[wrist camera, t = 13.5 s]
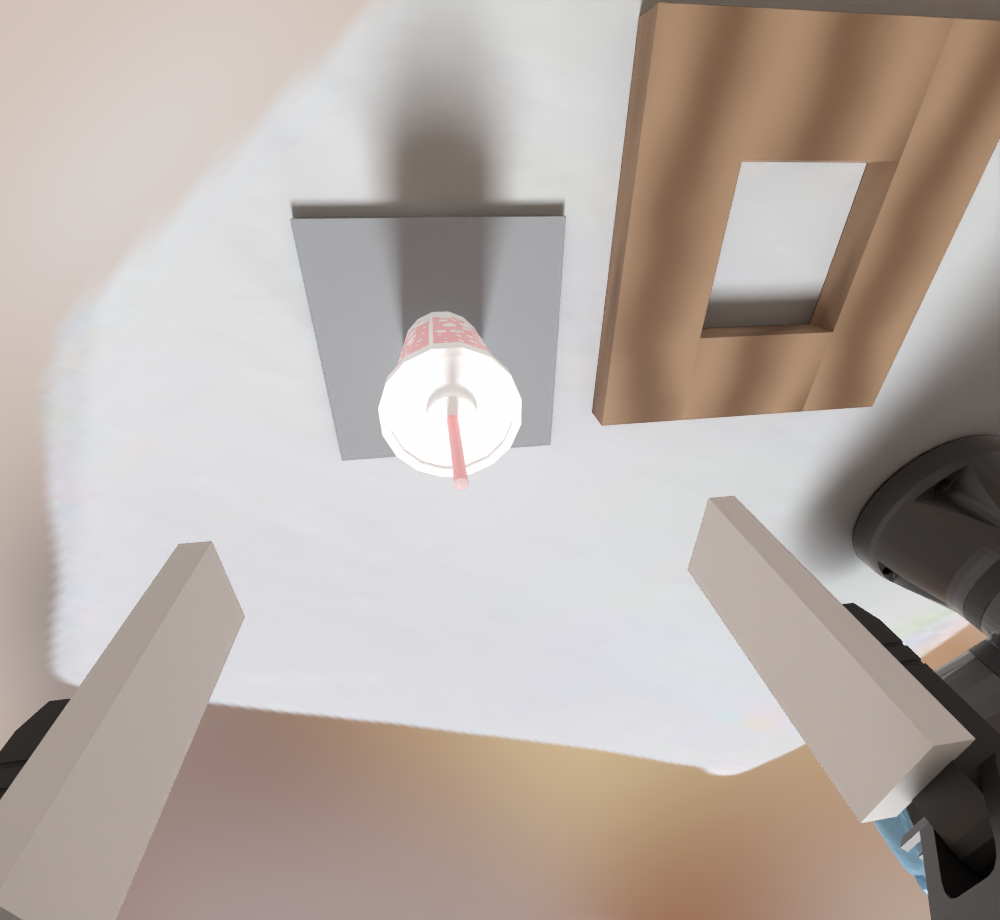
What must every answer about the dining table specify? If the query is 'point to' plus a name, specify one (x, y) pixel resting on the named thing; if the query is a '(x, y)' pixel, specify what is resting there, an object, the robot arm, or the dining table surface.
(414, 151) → the dining table surface
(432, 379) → the beverage cup
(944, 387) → the dining table surface
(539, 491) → the dining table surface
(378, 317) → the rubber mat
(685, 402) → the pocket holder
